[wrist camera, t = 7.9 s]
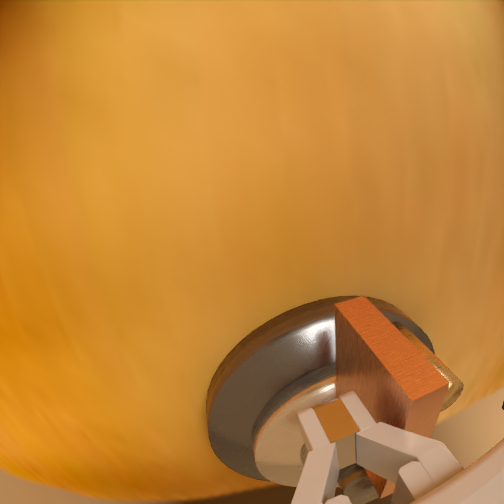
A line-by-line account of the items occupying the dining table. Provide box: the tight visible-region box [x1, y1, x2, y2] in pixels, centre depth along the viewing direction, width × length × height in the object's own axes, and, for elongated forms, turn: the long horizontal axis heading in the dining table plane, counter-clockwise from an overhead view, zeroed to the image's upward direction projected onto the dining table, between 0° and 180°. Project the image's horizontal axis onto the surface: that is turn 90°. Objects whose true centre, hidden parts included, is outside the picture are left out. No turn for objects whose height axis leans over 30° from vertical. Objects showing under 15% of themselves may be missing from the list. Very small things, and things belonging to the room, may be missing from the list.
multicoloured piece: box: [251, 296, 449, 499], centre depth 12 cm, size 14×10×7 cm
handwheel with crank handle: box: [206, 296, 463, 504], centre depth 14 cm, size 14×14×8 cm
